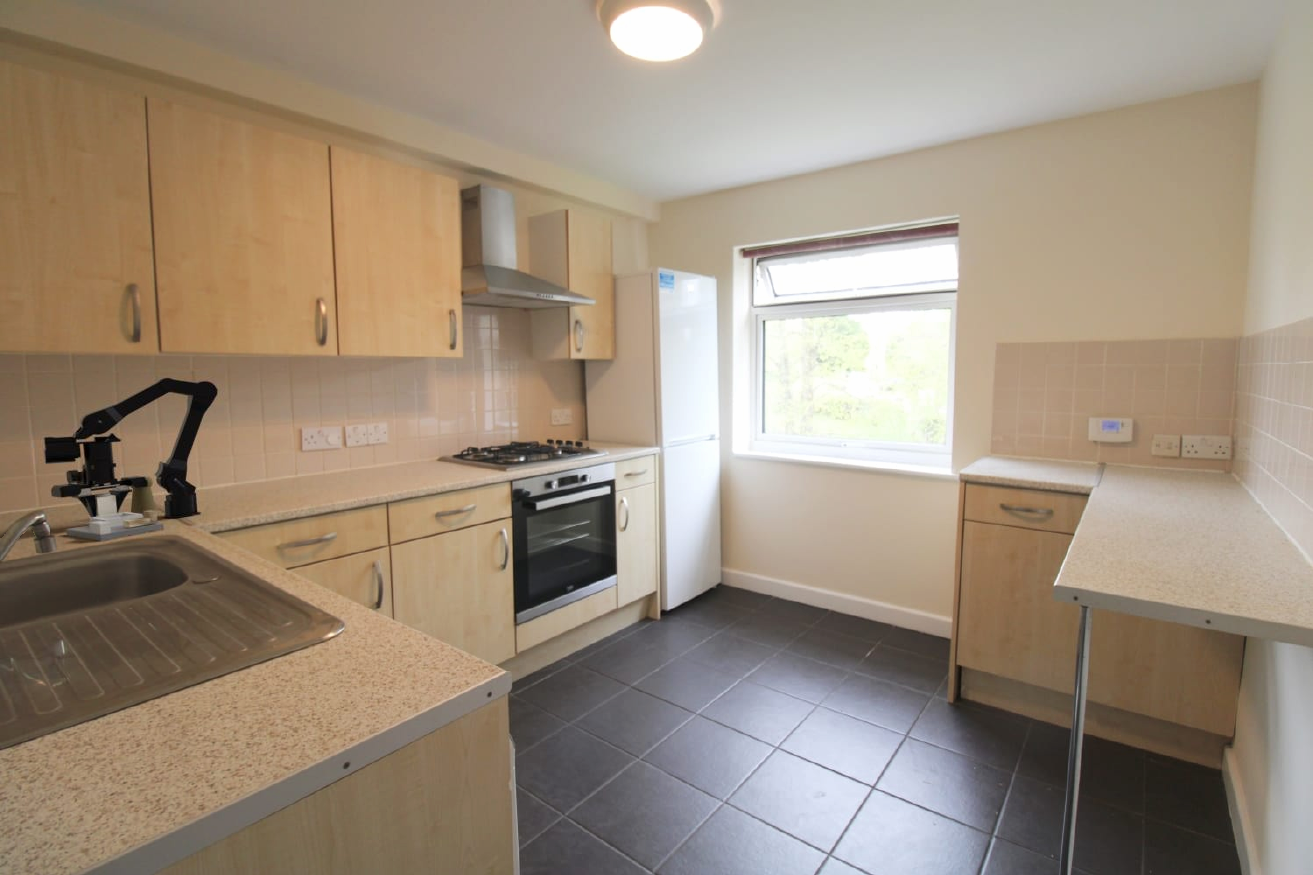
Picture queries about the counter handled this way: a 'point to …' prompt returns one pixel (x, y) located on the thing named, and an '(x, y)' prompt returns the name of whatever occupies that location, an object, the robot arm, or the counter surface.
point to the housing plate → (111, 527)
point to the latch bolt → (142, 519)
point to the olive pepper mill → (143, 498)
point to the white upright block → (105, 504)
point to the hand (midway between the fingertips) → (104, 518)
